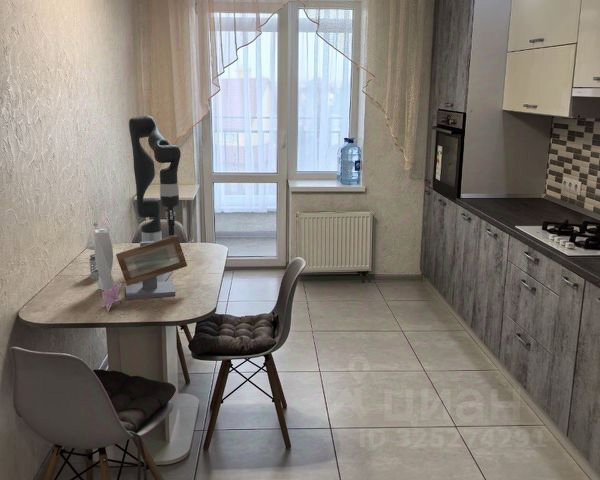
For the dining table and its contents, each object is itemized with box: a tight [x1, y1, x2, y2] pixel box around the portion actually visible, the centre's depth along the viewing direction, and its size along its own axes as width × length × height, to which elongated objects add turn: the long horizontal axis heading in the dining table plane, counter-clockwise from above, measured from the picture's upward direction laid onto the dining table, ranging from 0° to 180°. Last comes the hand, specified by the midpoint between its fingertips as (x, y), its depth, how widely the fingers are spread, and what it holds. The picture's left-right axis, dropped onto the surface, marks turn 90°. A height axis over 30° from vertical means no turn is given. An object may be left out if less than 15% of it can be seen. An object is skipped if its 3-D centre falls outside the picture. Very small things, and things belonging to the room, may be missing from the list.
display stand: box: [125, 241, 176, 300], centre depth 270 cm, size 16×20×22 cm
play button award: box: [135, 271, 174, 284], centre depth 292 cm, size 16×2×20 cm
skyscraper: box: [93, 225, 115, 291], centre depth 273 cm, size 8×8×28 cm
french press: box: [87, 222, 99, 280], centre depth 294 cm, size 10×12×25 cm
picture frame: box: [115, 234, 188, 286], centre depth 267 cm, size 2×26×14 cm, turn 105°
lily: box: [101, 281, 123, 313], centre depth 253 cm, size 12×12×10 cm
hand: (171, 235), depth 267 cm, fingers closed
